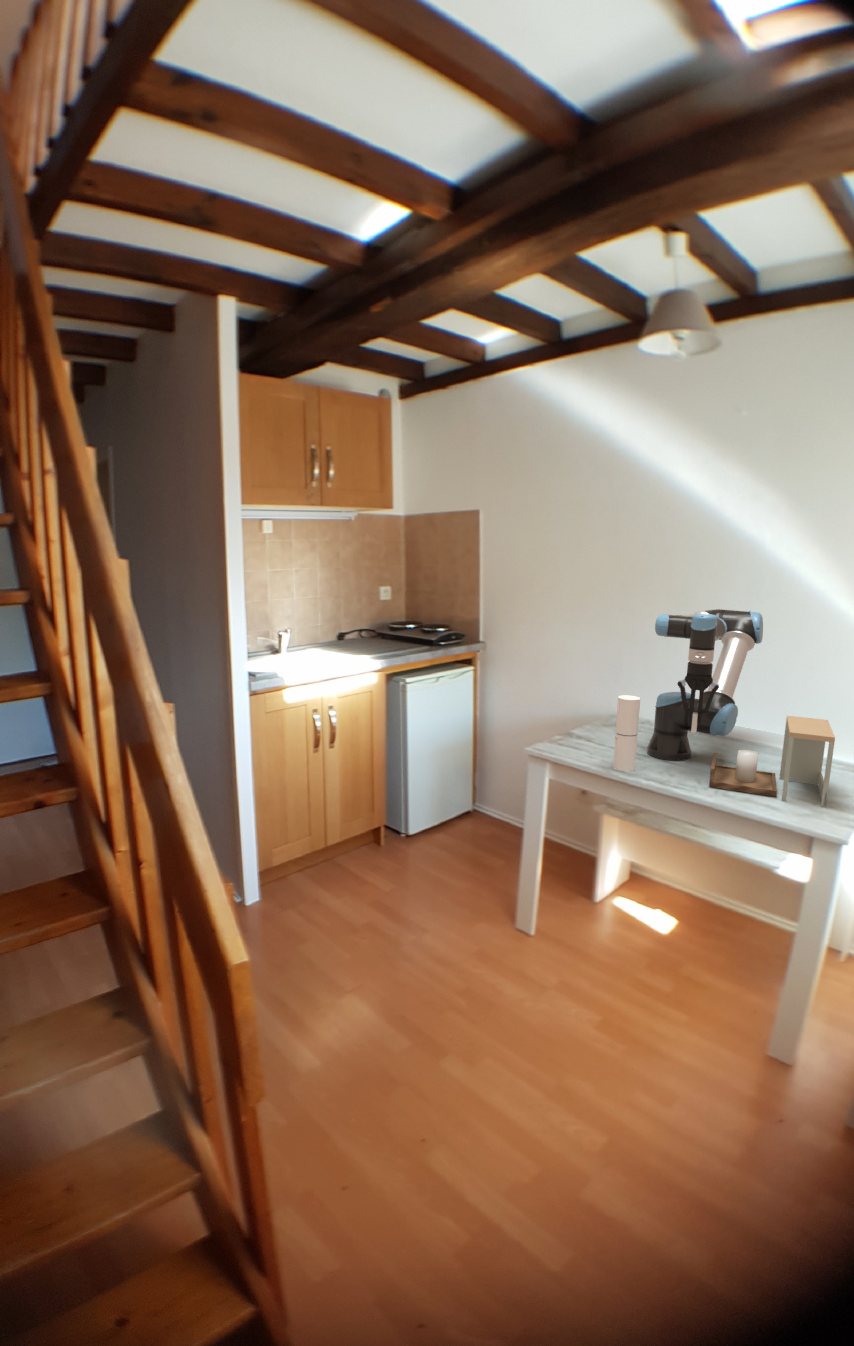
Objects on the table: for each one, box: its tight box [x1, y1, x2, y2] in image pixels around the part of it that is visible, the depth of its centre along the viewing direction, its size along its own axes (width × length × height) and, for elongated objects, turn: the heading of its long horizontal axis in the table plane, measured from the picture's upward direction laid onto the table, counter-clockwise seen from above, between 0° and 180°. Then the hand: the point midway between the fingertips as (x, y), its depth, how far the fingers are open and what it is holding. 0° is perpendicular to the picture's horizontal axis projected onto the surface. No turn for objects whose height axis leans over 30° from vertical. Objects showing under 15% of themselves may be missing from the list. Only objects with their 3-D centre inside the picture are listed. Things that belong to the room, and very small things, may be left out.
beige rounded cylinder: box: [735, 749, 759, 782], centre depth 217 cm, size 6×6×9 cm
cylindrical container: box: [612, 694, 641, 772], centre depth 229 cm, size 7×7×25 cm
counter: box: [778, 715, 836, 809], centre depth 210 cm, size 12×22×22 cm, turn 154°
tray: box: [708, 752, 778, 797], centre depth 218 cm, size 19×19×6 cm
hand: (693, 732), depth 222 cm, fingers closed
